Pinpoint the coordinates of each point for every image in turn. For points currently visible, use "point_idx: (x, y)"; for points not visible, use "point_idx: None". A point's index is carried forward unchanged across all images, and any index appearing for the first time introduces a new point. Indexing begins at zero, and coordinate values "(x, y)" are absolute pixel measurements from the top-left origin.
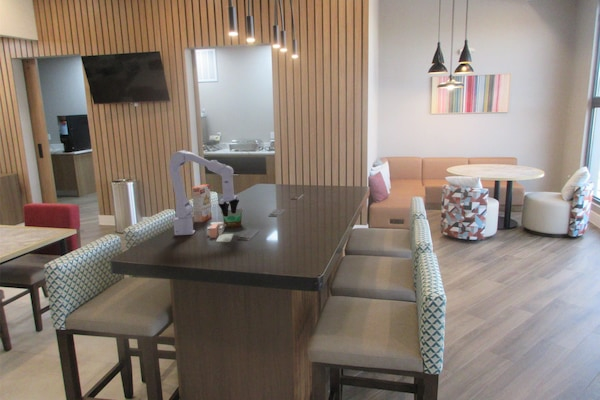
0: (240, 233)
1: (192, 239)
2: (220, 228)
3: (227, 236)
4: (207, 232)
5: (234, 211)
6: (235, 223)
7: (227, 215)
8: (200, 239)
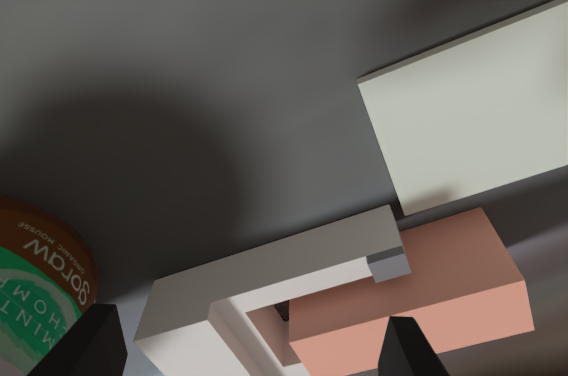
0: (270, 21)
1: (546, 342)
2: (398, 257)
3: (500, 90)
4: None
5: (101, 345)
6: (29, 241)
7: (409, 328)
8: (552, 294)
